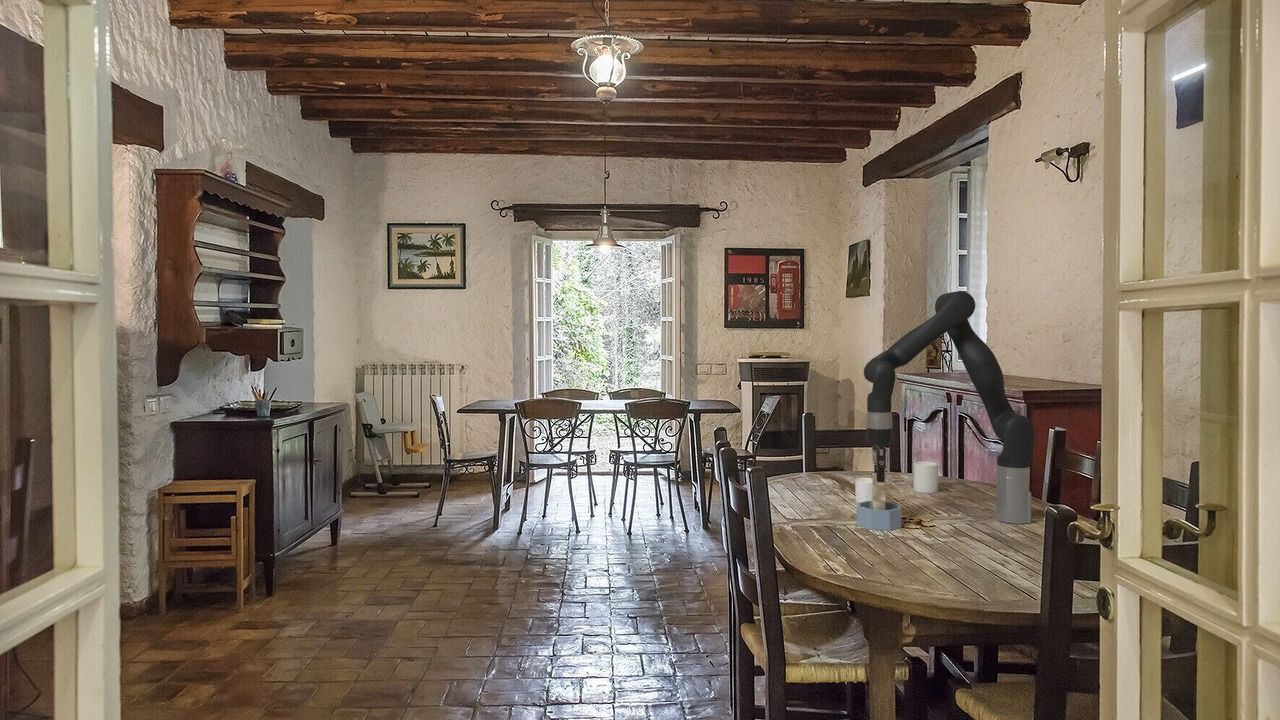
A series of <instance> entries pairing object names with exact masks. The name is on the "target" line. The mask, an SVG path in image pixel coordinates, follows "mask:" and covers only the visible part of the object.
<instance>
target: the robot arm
mask: <svg viewBox="0 0 1280 720" xmlns="http://www.w3.org/2000/svg"><path fill="white" fill-rule="evenodd" d="M975 309H976V301H975V299H974V296H973V295H971V294H970V293H969V292H966V291H962V290H959V291H951V292H946V293H942V294H941V295H939V296H938V297H937V299H936V300H935V304H934V310H935V314H934V315H933V316H931V317H930V318H929V319H927V320H926V321H924V322H923V323H921V324H920V325H918V326H917V327H915V328H913V329H911V330H909V331H908V332H907V333H906V334H904V335H903V336H902V337H900V339H898V340H897V341H896V342H895V343H893V344H892V345H891V346H890V347H889V348H888V349H887V350H885V351H882V352H881V353H879V354H877V355H876V356H875V357H872V358H871V359H870V360H869V361H868V362H867V363H866V365H865V367H863V376H864V379H865V380H867V381H868V382H869V383H872V387H871V388H872V389H871V392H870V393H868V394H867V400H866V403H867V404H866V408H867V409H866V411H867V412H866V419H865V421H866V434H865V436H866V437H865V438H866V442H867V443H871V444H872V447H871V451H872V453H871V454H872V461H873V462H872V463H873V467H874V468H873V469H874V471H873V473H877V482H884V481H885V475H886V474H885V470H886V469H887V465H886V464H887V452H888V451H887V448H886V447H885V445H886V444H890V443H892V442H893V415H892V395H893V393H894V388H895V383H896V371H895V370H896V369H897V368H899V367H904V366H906V365H908V363H910V362H911V361H912V360H913V359H914V358H916V357H917V356H918V355H919V354H921V352H923V351H924V350H925V349H926V348H927V347H928V346H930V345H931V344H932V343H933V342H935V341H936V340H938V339H939V338H940V337H941V336H943V335H944V334H945V333H947V334H948V336H949V337H950V339H951V340H952V342H953V344H954V347H955V349H956V351H957V354H958V355H959V357H960V360H961V362H962V364H963V366H964V368H965V370H966V372H967V374H968V377H969V379H970V381H971V382H972V384H973V386H974V388H975V390H976V392H977V394H978V395H979V398H980V400H981V401H982V403H983V405H984V406H983V407H984V408H985V410H986V413H987V416H988V418H989V421H990V425H991V427H992V430H993V432H994V434H995V436H996V437H997V438H998V439H999V440H1001V441H1003V443H1002V445H1003V446H1002V452H1001V453H1000V454H998V456H997V457H996V497H995V498H996V500H995V501H996V503H995V504H996V505H995V520H996V521H999V522H1000V523H1001V522H1002V523H1006V524H1014V525H1022V524H1025V525H1026V524H1031V522H1032V492H1031V491H1030V479H1031V478H1030V475H1031V474H1030V473H1031V460H1032V459H1033V455H1034V445H1035V444H1034V443H1035V427H1034V424H1033V421H1032V420H1031V419H1030V418H1028V417H1027V416H1026V415H1022V414H1017V413H1016V412H1015V410H1014V408H1013V407H1012V405H1011V404H1010V401H1009V400H1008V398H1007V395H1006V391H1005V381H1004V374H1003V373H1004V372H1003V370H1002V367H1001V365H1000V363H999V361H998V360H997V357H996V356H995V354H994V352H993V351H992V349H991V348H990V347H989V346H988V345H987V344H986V343H985V342H984V341H983V340H982V338H980V336H979V335H978V334H976V331H974V329H973V327H972V326H971V324H970V322H969V320H968V319H970V318H971V317H972V315H973V314H974V312H975Z"/></svg>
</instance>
